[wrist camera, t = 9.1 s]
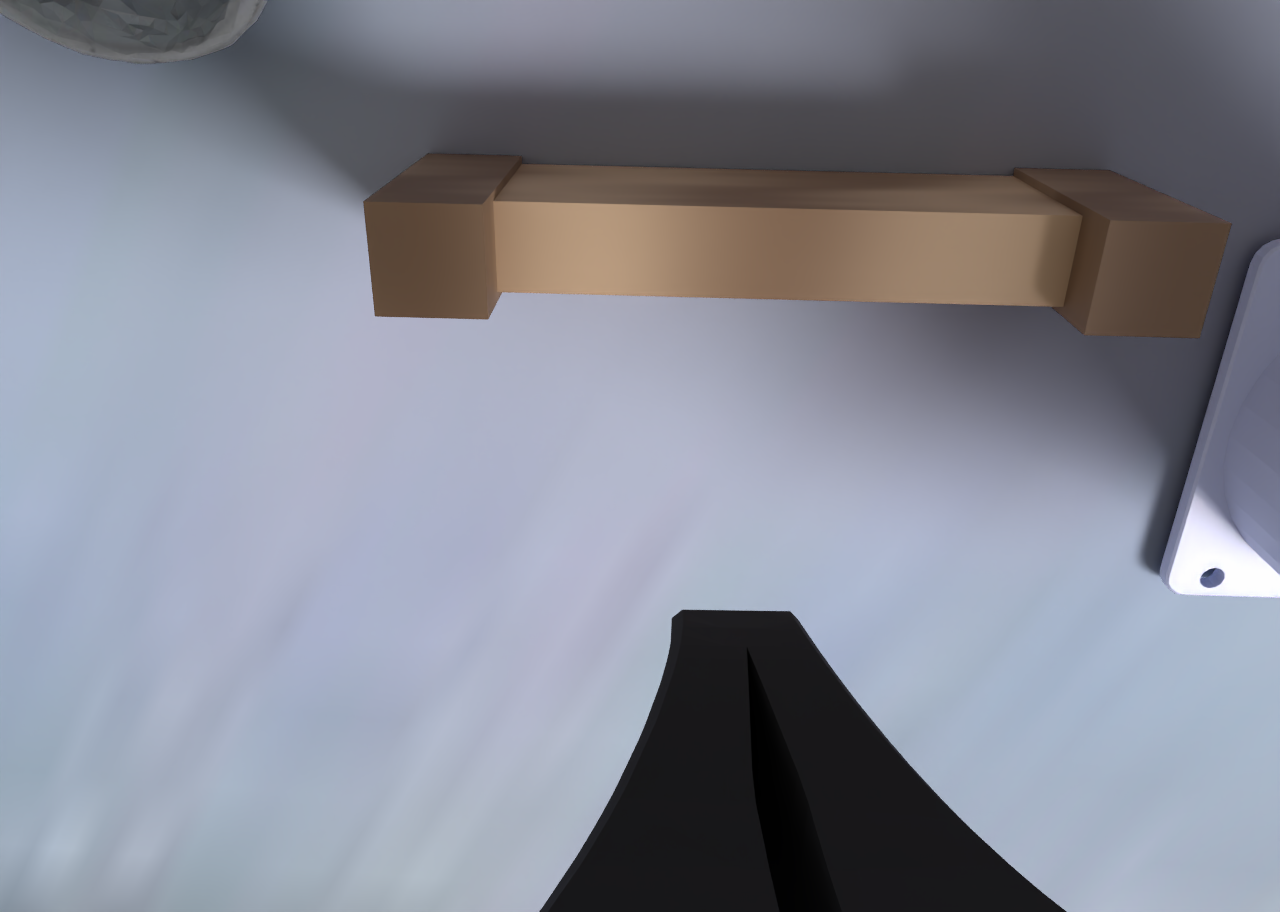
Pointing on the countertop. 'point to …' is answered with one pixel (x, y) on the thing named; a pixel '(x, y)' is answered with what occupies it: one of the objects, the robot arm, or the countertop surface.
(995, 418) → the countertop surface
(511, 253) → the cedar frame
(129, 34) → the ceramic mug
